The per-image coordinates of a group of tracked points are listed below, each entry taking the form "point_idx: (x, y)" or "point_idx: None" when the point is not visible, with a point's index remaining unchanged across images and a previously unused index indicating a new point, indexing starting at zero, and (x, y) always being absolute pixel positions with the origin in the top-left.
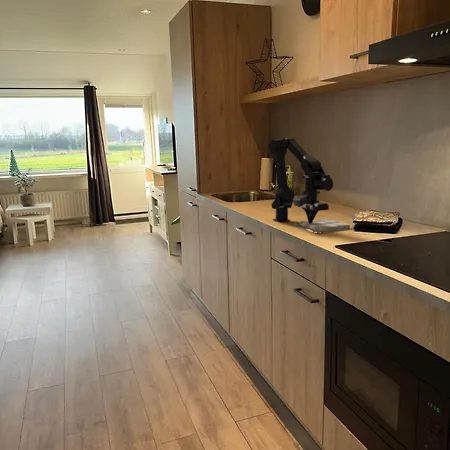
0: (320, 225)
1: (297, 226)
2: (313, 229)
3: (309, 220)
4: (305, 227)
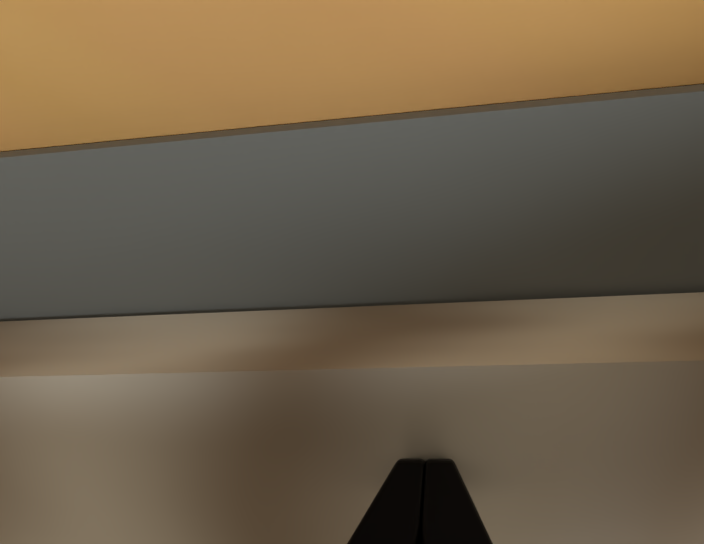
0: (97, 517)
1: (655, 120)
2: (110, 316)
3: (387, 522)
4: (400, 267)
